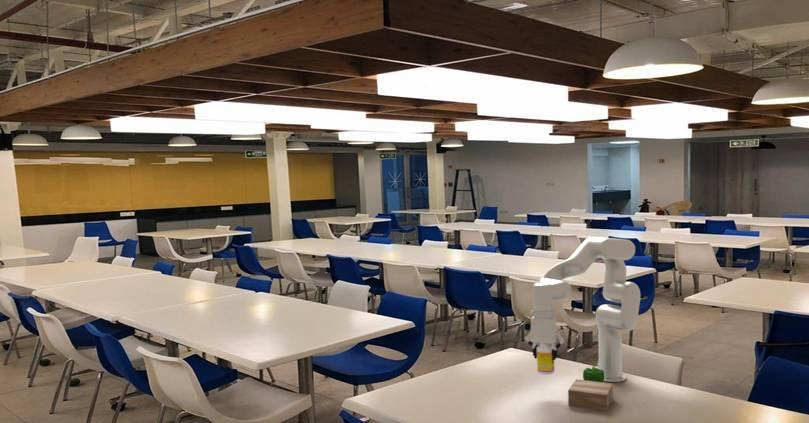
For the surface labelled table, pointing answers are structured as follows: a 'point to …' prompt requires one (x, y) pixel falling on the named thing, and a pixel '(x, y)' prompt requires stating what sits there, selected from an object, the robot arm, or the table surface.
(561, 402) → the table surface
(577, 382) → the walnut block
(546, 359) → the supplement bottle
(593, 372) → the bell pepper
